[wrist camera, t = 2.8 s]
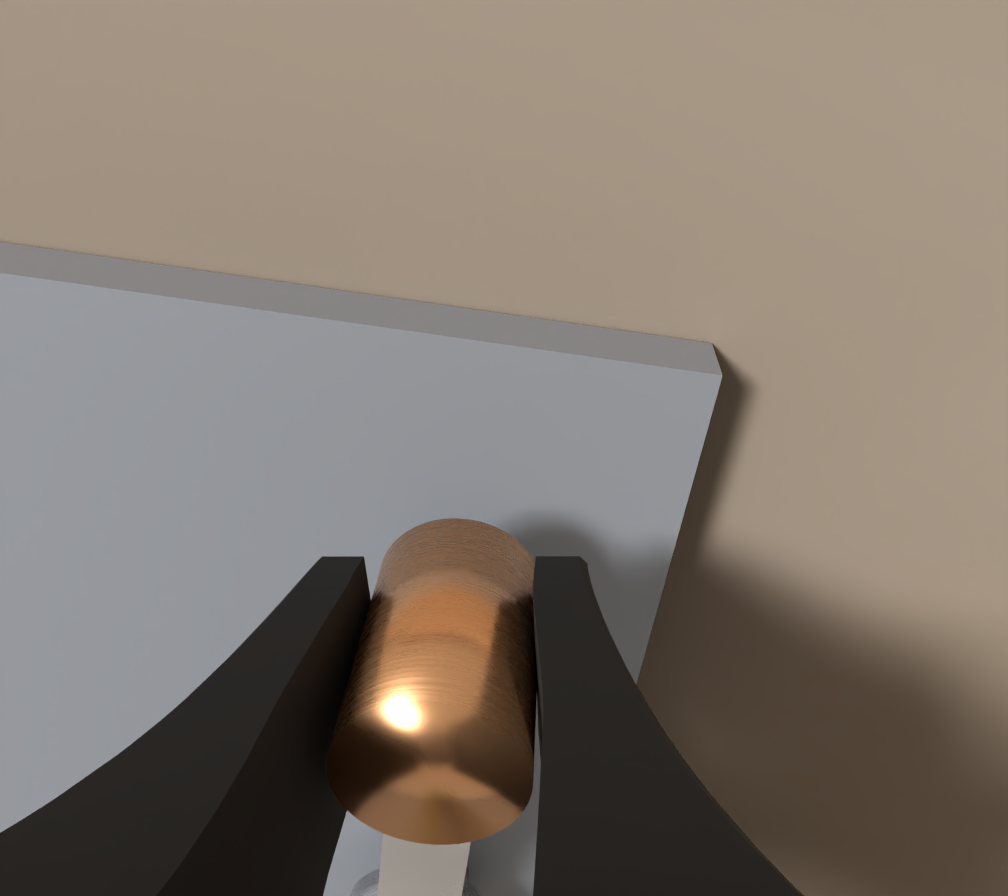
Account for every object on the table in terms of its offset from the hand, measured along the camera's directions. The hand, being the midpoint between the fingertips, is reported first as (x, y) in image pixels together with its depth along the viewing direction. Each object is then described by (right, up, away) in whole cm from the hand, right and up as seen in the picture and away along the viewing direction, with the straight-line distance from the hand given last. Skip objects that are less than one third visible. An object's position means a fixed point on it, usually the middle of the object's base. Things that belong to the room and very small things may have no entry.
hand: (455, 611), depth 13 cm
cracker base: (-2, -3, +6) cm, 7 cm away
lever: (-1, -5, +5) cm, 7 cm away
